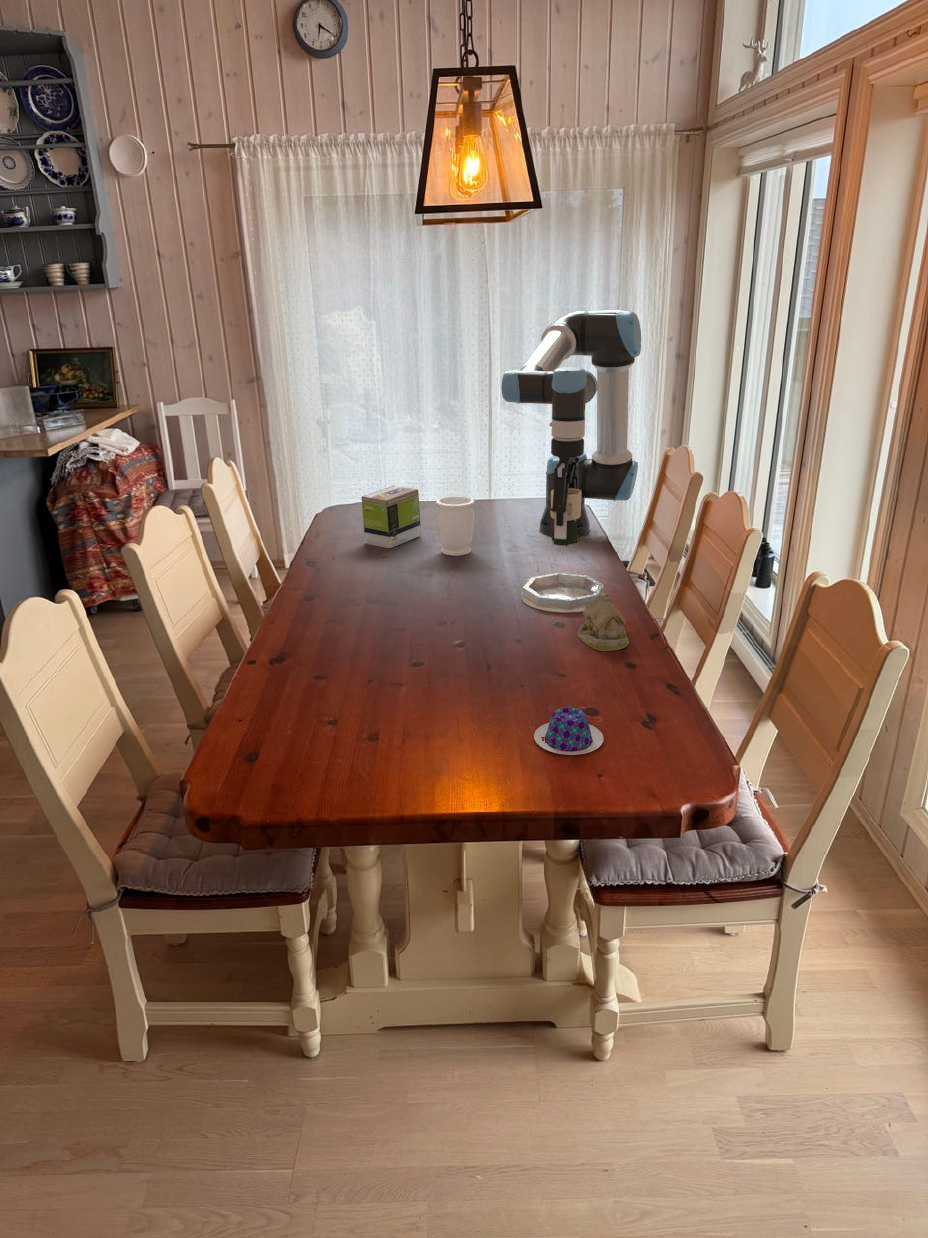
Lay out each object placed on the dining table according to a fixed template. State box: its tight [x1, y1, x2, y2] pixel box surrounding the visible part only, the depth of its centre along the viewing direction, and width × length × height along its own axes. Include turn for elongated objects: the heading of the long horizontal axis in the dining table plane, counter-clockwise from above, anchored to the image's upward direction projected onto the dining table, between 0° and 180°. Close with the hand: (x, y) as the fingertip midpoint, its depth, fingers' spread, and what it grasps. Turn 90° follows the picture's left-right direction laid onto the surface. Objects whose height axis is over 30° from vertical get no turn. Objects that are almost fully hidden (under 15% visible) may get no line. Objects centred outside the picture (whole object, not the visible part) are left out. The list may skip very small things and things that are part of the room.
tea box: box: [361, 485, 422, 549], centre depth 262 cm, size 15×10×15 cm
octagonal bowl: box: [520, 572, 607, 614], centre depth 218 cm, size 21×21×3 cm
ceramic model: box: [577, 594, 630, 652], centre depth 193 cm, size 14×11×10 cm
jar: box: [436, 496, 475, 557], centre depth 250 cm, size 11×10×15 cm
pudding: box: [533, 706, 604, 756], centre depth 153 cm, size 12×12×5 cm
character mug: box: [551, 488, 581, 547], centre depth 211 cm, size 11×7×13 cm, turn 12°
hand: (565, 532), depth 212 cm, fingers closed on character mug, 9 cm apart
